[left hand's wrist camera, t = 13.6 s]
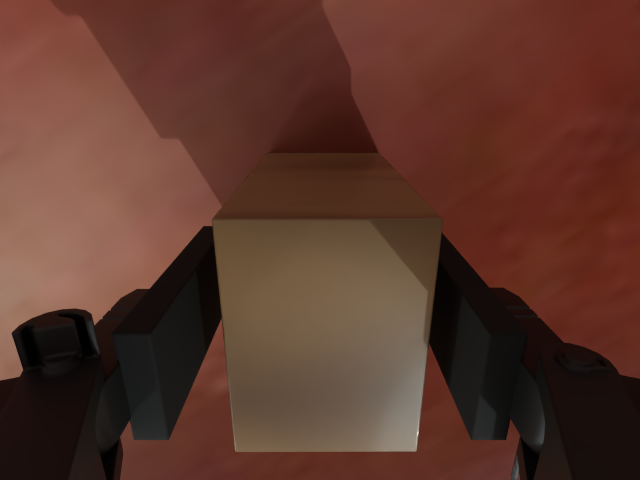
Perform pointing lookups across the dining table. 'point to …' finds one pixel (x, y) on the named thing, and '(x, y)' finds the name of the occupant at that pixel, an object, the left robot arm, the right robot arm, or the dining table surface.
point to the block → (326, 303)
